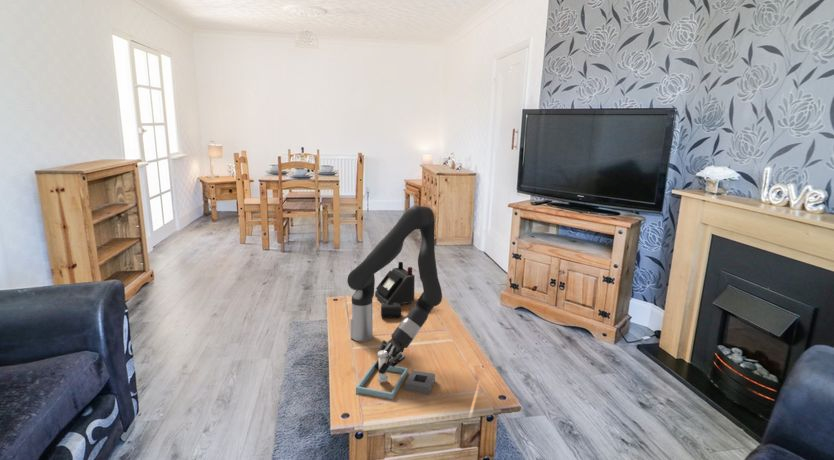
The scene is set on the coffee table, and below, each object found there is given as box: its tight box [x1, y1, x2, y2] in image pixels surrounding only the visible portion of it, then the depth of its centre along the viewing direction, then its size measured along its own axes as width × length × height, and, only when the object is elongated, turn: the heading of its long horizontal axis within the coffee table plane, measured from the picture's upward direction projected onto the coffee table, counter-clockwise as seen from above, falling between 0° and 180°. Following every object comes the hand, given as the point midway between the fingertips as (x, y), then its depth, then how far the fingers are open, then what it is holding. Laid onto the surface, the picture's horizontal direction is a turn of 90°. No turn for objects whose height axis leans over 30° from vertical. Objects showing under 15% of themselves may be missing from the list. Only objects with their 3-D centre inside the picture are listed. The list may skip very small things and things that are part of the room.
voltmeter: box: [374, 261, 416, 305], centre depth 244 cm, size 16×16×20 cm
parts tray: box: [355, 362, 409, 400], centre depth 167 cm, size 14×18×3 cm
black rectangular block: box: [380, 302, 402, 319], centre depth 225 cm, size 10×7×7 cm
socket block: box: [404, 369, 436, 396], centre depth 165 cm, size 9×9×4 cm
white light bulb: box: [377, 350, 389, 383], centre depth 165 cm, size 4×4×11 cm
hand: (378, 370), depth 165 cm, fingers closed on white light bulb, 3 cm apart
